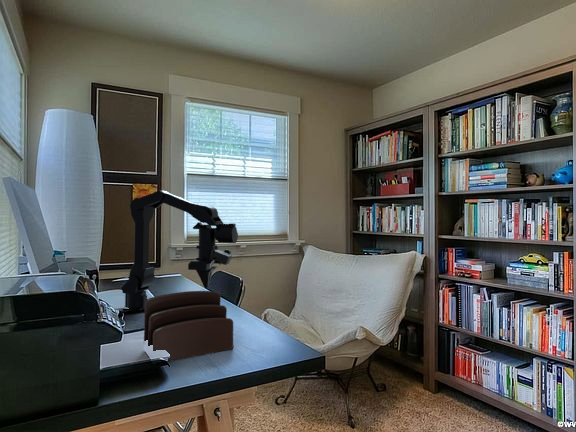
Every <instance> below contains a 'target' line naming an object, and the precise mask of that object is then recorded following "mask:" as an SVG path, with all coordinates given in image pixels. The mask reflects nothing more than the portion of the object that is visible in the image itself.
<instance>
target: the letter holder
mask: <svg viewBox="0 0 576 432" xmlns="http://www.w3.org/2000/svg"><path fill="white" fill-rule="evenodd" d="M221 303H222V301H221V293H220V292H219V291H214V290H187V291H179V292H172V293H167V294H161V295H157V296H156V295H155V296H152V297H148V298H147V300H146V302H145V308H144V323H143V324H144V326H143V329H144V330H143V342H144V341H146V340H148V346H150V345H153V351H156V350H166V351H167V352H168V353H169V354H170V358H168V361H167V362H172V361H171V360H173V361H177V360H183V359H189V358H194V357H199V356H204V355H209V354H214V353H215V354H216V353H219V352H220V353H221V352H225V351H230V350H231V351H232V350H234V321H233V320H234V319H232V318H229V317H227V314H228V313H227V312H228V309H227V307H226V305H223V304H222V305H221Z"/></svg>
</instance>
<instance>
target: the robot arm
mask: <svg viewBox="0 0 576 432" xmlns="http://www.w3.org/2000/svg"><path fill="white" fill-rule="evenodd" d="M163 204H166V205H167V206H170V207H173V208H175V209H177V210H180V211H182V212H184V213H187V214H188V215H190V216H191V217H192V218H193V219H195V220H197V221H199V222H197V223H196V224H195V225H194V226H193V227H192V229H193V230H198V245H196V248H195V249H197V250H198V251H197V253H198V255H197V257H196V258H195V259H193V260H191V261H190V262H189V263H187V270H190V271H196V273H197V275H198V277H199V279H200V281H201V283H202V286H203V287H204V288H205V289H207V288H209V286H210V283H211V279H212V275H213V272H214V271H215V270H217V269H218V266H216V264H218V265H225V266H227V265H230V263H231V260H232V259H233V254H232V251H231V250H230V249H228V248H226V249H225V250H224V251H223V250H219V246H218V245H216V241H217V243H219V244H236V243H237V242H238V238H239V233H238V229H237V226H236V225H237V224H236V223H224V222H223V220H222V219H221V218H220V216H219V212H218V209H217V208H216V207H215V206H210V205H205V204H199V203H195V202H192V201H190V200H187V199H185V198H183V197H180V196H177V195H175V194H172V193H170V192H168V191H165V190H162V189H161V190H160V189H158V190H156V191H154V192H152V193H150V194H147V195H144V196H141V197H135V198H132V200H131V201H130V203H129V211H130V216H131V218H132V220H133V222H134V243H133V245H134V247H133V248H134V249H133V250H134V254H133V265H132V267H131V268H130V271H129V275H128V279H127V281H126V282H125V283H124V284H123V285H122V286H121V291H122V294H125V295H124V308H125V307H128V308H129V310H128V311H135V312H136V311H142V310H144V309H145V302H146V300H147V299H148V295H147V290H149V289H150V285H151V284H152V283H153V282H154V279H156V277H155V271H156V269H155V266H151V265H150V262H149V257H150V253H149V252H150V251H149V250H150V247H149V246H150V223H151V220H152V219H153V216H154V213H155V209H157V208H159V207H161V206H162V205H163ZM143 308H144V309H143Z"/></svg>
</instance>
